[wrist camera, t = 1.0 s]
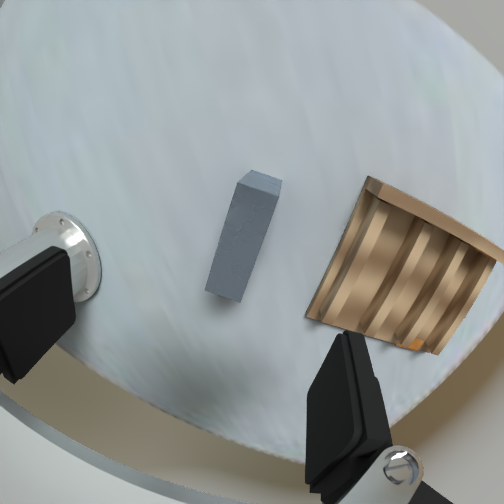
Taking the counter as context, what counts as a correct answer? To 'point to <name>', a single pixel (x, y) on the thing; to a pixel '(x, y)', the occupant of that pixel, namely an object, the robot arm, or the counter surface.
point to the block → (243, 234)
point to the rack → (403, 271)
